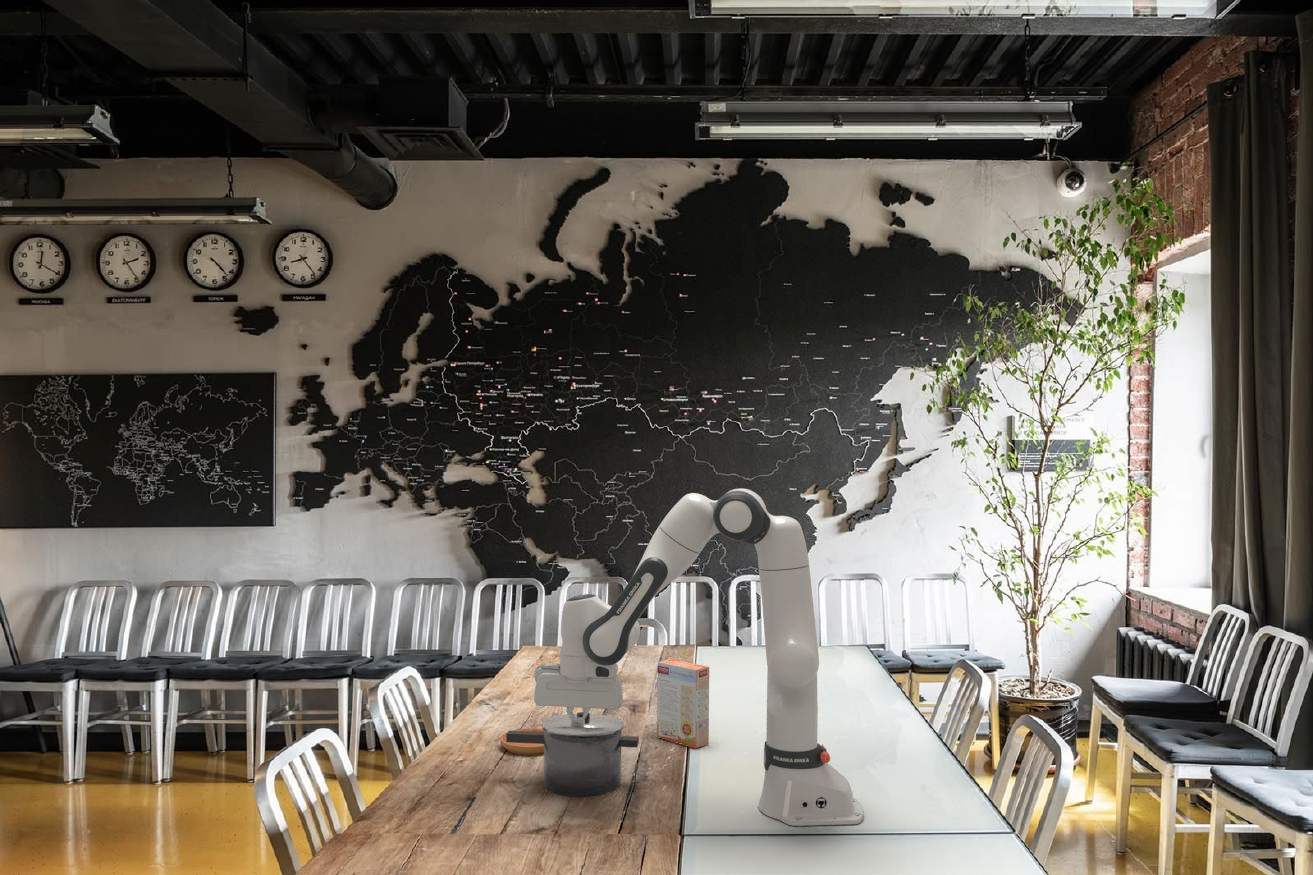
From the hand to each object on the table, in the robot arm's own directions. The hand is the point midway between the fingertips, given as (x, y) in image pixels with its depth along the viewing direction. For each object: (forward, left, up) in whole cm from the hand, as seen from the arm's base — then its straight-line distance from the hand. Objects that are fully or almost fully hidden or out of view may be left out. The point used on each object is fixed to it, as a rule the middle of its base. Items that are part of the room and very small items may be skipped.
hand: (577, 726), depth 213 cm
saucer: (+18, -29, -15) cm, 37 cm away
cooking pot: (+2, -5, -15) cm, 16 cm away
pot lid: (0, -5, -2) cm, 5 cm away
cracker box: (-21, -39, -15) cm, 47 cm away
